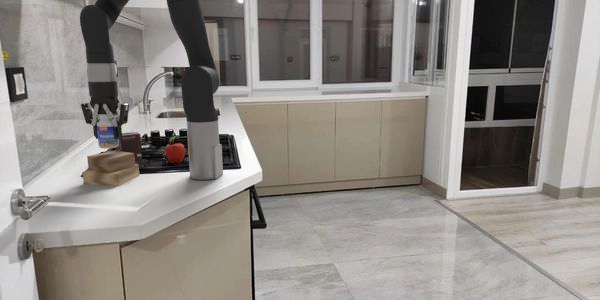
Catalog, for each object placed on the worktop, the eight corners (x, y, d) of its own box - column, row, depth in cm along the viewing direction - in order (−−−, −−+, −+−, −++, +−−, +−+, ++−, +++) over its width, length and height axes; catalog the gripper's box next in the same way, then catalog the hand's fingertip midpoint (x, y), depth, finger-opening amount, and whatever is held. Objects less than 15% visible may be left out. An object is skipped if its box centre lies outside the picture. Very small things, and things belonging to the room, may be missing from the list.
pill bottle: (99, 149, 119) (95, 115, 117) (98, 146, 123) (95, 113, 121) (119, 147, 121) (116, 114, 119) (118, 144, 126) (115, 112, 124)
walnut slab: (135, 166, 126) (134, 153, 125) (110, 173, 118) (109, 159, 117) (114, 163, 130) (113, 150, 129) (88, 169, 122) (87, 156, 121)
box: (123, 173, 131) (120, 135, 129) (121, 170, 135) (117, 133, 133) (143, 170, 135) (140, 133, 132) (140, 167, 138) (137, 131, 136)
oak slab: (139, 176, 129) (138, 164, 128) (119, 187, 118) (117, 173, 117) (107, 175, 130) (105, 163, 130) (83, 185, 120) (82, 172, 119)
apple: (163, 162, 145) (160, 134, 143) (182, 159, 149) (180, 132, 147) (170, 166, 139) (168, 137, 137) (190, 163, 143) (188, 135, 141)
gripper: (133, 79, 121) (138, 137, 124) (88, 79, 123) (94, 135, 127) (118, 80, 114) (123, 141, 117) (70, 80, 116) (77, 140, 119)
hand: (108, 138), depth 122 cm, fingers closed on pill bottle, 5 cm apart
